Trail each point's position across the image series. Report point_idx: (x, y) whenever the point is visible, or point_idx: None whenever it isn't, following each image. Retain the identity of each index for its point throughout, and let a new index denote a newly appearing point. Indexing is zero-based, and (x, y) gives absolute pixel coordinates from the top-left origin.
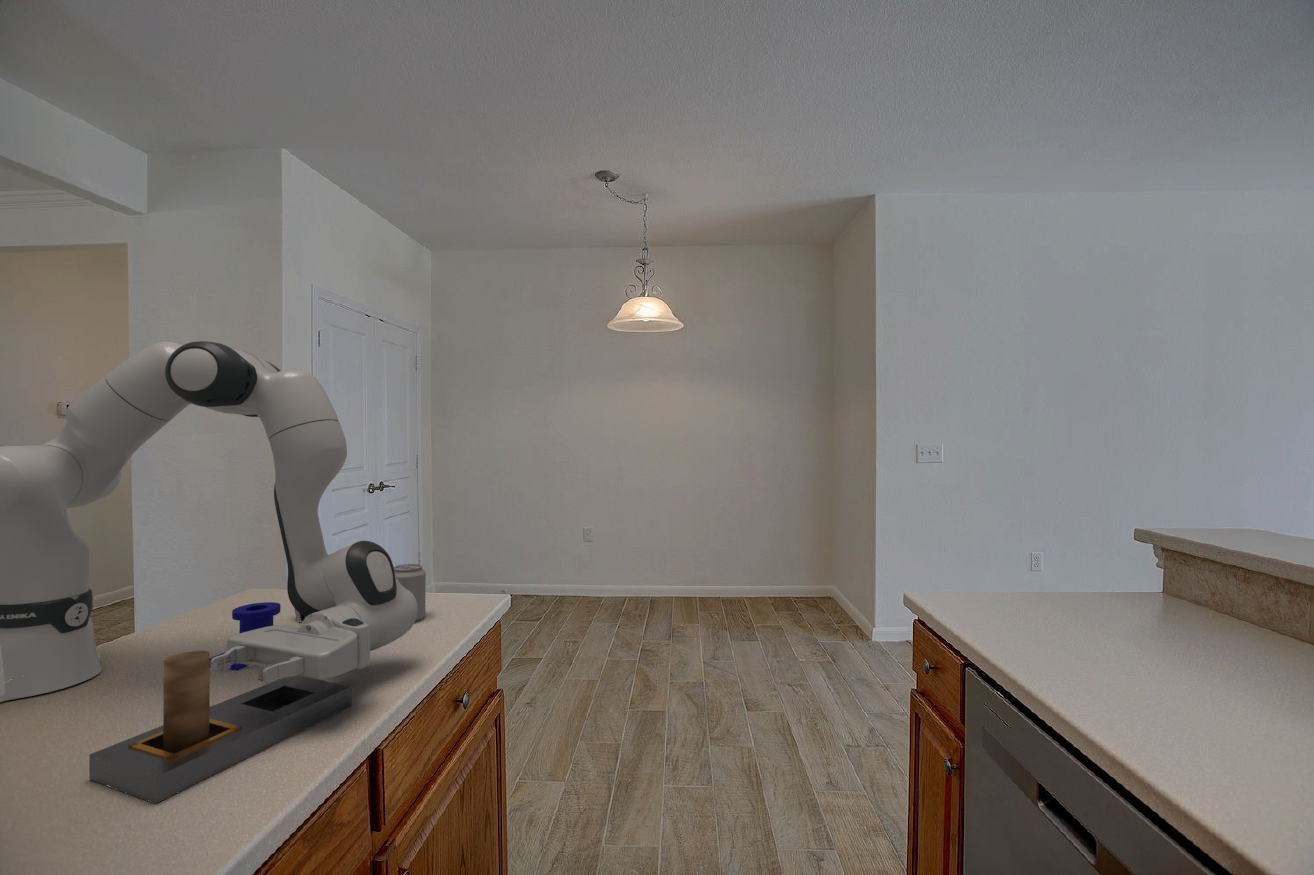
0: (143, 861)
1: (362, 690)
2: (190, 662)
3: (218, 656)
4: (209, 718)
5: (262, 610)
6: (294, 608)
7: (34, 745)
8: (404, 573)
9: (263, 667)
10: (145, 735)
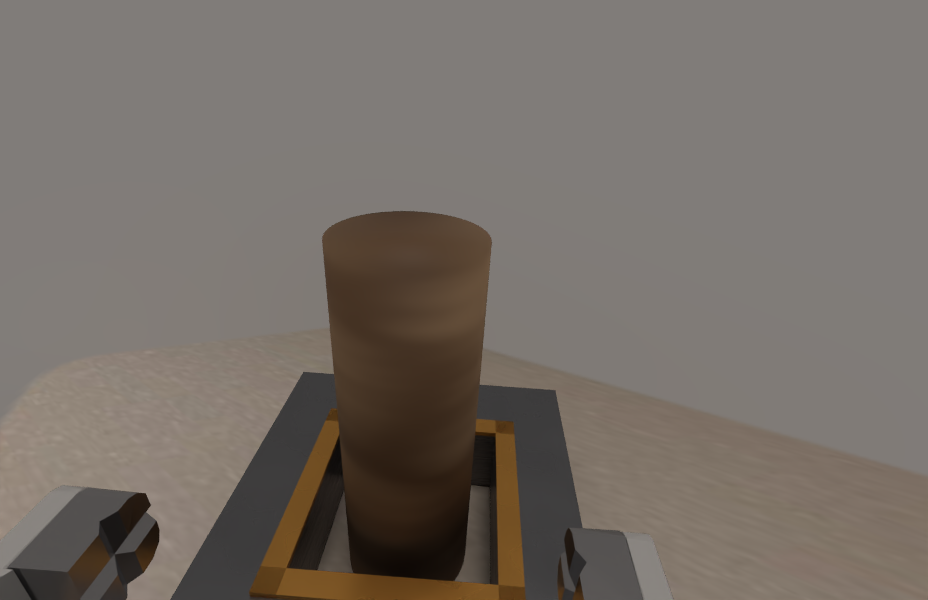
0: (201, 345)
1: None
2: (341, 223)
3: (647, 564)
4: None
5: None
6: None
7: (894, 491)
8: None
9: (101, 502)
10: (546, 469)
